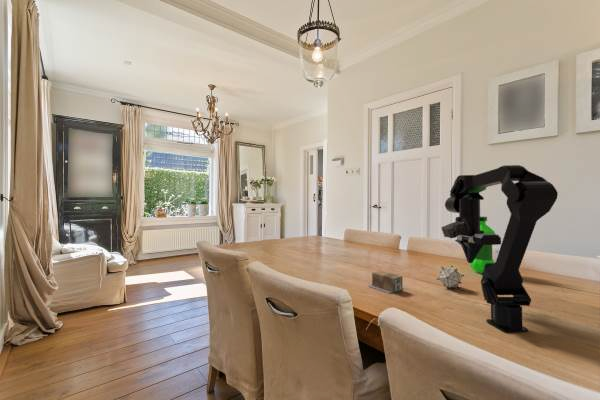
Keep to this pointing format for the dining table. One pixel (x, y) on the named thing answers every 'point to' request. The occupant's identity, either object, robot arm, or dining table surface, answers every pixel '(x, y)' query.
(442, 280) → the grey spiky ball
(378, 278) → the grey rectangular block
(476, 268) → the plastic bottle
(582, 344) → the dining table surface
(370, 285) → the felt mat
